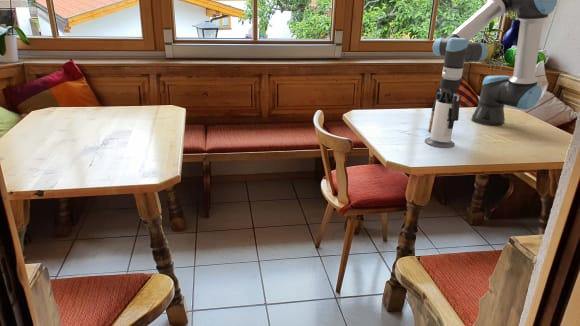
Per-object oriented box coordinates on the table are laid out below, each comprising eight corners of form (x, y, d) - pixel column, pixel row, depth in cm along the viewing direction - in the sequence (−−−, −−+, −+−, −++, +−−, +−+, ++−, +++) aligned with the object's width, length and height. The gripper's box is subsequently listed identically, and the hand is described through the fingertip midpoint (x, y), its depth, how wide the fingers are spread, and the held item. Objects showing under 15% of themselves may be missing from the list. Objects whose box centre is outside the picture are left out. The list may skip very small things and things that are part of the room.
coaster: (443, 138, 188) (444, 136, 187) (460, 147, 177) (460, 145, 176) (419, 139, 185) (419, 137, 184) (434, 148, 174) (434, 147, 174)
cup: (451, 142, 176) (458, 104, 170) (430, 140, 177) (437, 103, 171) (448, 136, 183) (455, 100, 177) (429, 134, 184) (435, 98, 178)
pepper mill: (434, 130, 198) (438, 108, 194) (439, 132, 194) (443, 110, 190) (426, 130, 197) (430, 108, 193) (431, 133, 193) (435, 110, 189)
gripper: (428, 73, 179) (420, 125, 188) (458, 83, 160) (447, 141, 169) (444, 73, 181) (435, 124, 189) (475, 83, 162) (464, 140, 170)
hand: (441, 132), depth 179 cm, fingers closed on cup, 8 cm apart
